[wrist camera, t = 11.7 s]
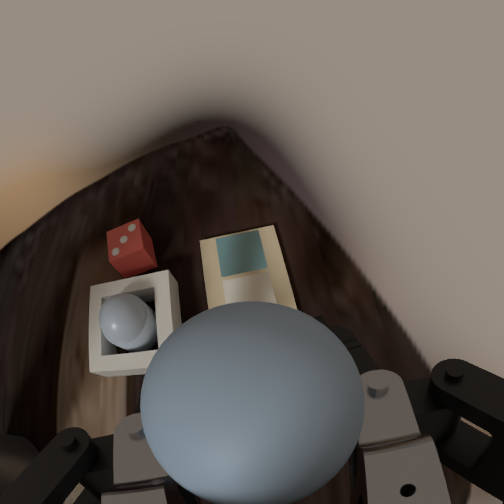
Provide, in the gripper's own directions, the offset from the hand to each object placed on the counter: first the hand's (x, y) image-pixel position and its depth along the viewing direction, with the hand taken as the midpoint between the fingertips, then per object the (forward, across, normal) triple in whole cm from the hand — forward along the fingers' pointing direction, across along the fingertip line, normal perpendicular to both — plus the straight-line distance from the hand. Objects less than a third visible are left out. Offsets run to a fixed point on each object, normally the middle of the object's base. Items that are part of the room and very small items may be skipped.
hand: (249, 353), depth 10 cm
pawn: (+2, 0, +4) cm, 5 cm away
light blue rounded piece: (+16, +11, +6) cm, 20 cm away
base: (+16, +11, +6) cm, 21 cm away
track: (+15, 0, +7) cm, 17 cm away
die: (+22, +11, 0) cm, 25 cm away
